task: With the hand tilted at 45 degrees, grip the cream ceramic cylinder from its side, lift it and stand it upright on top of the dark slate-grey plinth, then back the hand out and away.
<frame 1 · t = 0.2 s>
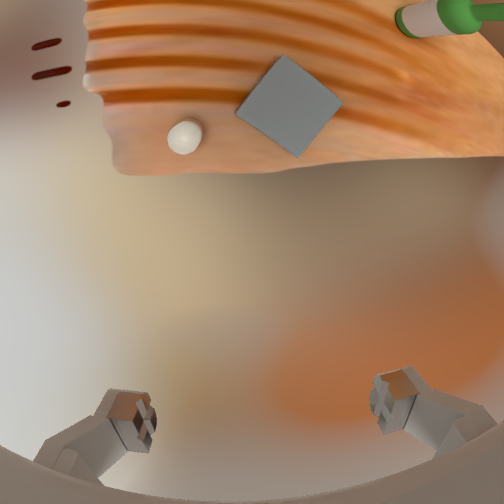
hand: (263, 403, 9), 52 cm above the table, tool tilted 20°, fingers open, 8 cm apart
cylinder: (189, 132, 51), on the table
plinth: (286, 104, 50), on the table
wine bottle: (407, 23, 39), on the table
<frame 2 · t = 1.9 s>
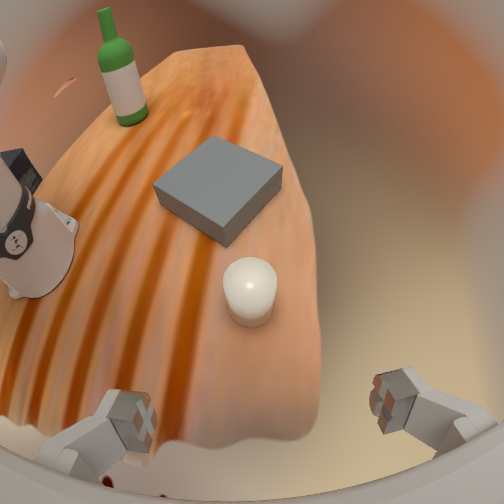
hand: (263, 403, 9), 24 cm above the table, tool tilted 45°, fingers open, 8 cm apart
cylinder: (251, 307, 36), on the table
plinth: (220, 195, 46), on the table
small box: (24, 190, 50), on the table
wine bottle: (134, 118, 60), on the table
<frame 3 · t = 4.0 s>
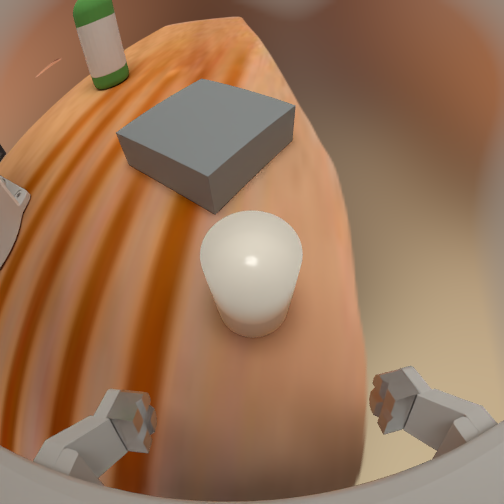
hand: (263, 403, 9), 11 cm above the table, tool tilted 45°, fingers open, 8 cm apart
cylinder: (253, 303, 22), on the table
plinth: (209, 149, 32), on the table
wine bottle: (113, 82, 46), on the table
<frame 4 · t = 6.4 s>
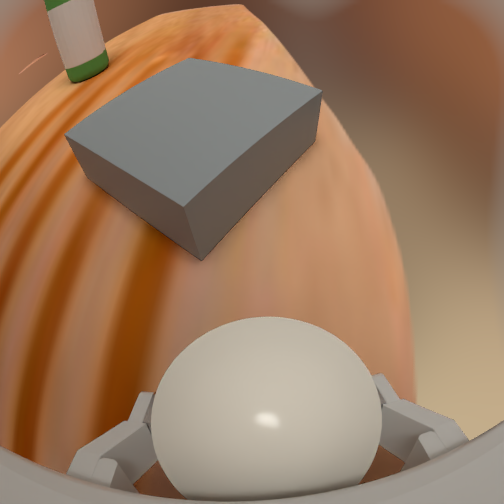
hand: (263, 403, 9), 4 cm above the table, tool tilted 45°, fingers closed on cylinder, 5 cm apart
cylinder: (262, 416, 12), on the table, touching gripper
plinth: (196, 153, 22), on the table
wine bottle: (90, 74, 36), on the table
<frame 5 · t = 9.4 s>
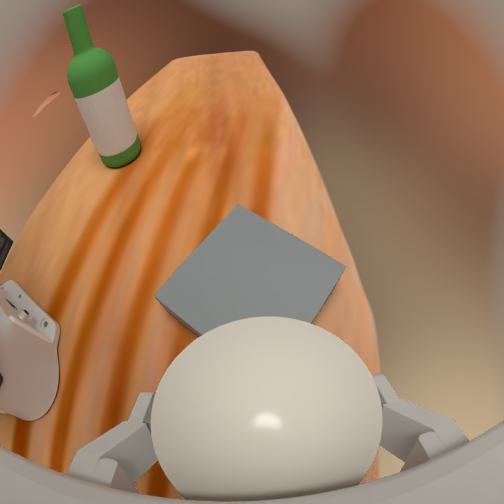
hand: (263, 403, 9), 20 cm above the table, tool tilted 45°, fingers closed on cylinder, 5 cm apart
cylinder: (262, 416, 12), point 16 cm above the table, touching gripper
plinth: (252, 300, 32), on the table
wine bottle: (123, 156, 47), on the table
when the fingers open (11 cm above the table, at t = 12.6 s): cylinder drops 1 cm, resting on plinth.
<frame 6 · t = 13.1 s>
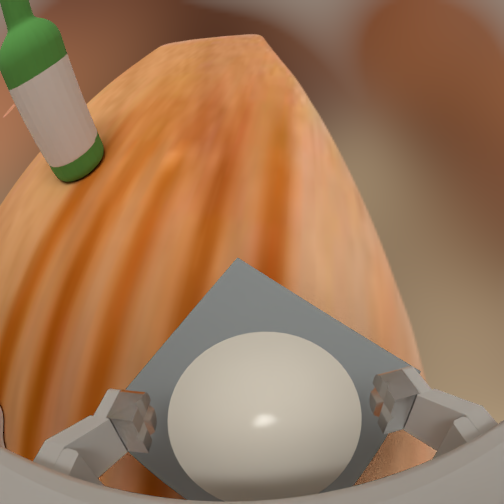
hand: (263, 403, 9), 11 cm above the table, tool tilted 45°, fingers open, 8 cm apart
cylinder: (262, 415, 14), point 5 cm above the table, touching plinth
plinth: (261, 412, 18), on the table
wine bottle: (82, 165, 32), on the table
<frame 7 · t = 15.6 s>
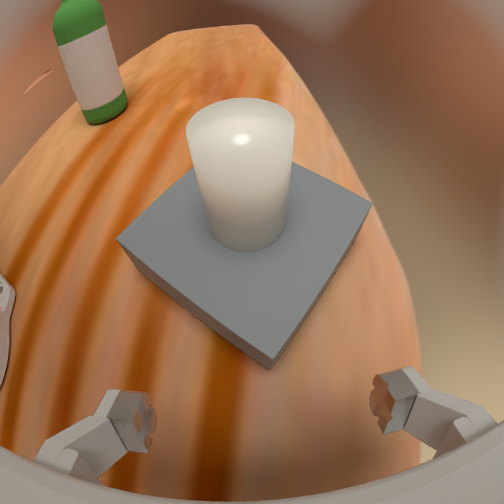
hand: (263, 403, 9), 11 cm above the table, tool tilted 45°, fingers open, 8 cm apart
cylinder: (246, 217, 20), point 5 cm above the table, touching plinth
plinth: (249, 253, 25), on the table
wine bottle: (108, 113, 39), on the table
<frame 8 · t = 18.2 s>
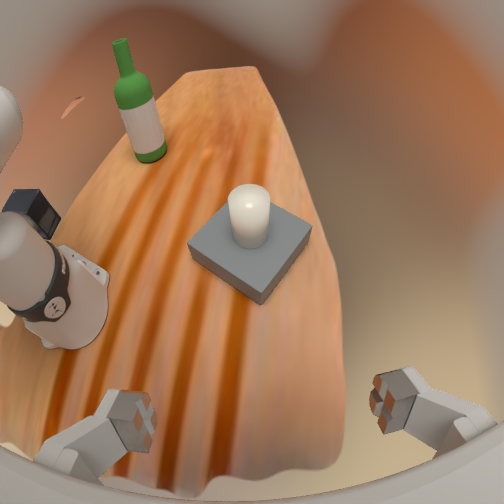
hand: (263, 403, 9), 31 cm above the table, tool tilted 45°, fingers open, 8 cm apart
cylinder: (250, 233, 44), point 5 cm above the table, touching plinth
plinth: (251, 250, 49), on the table
small box: (42, 228, 53), on the table
wine bottle: (152, 154, 63), on the table
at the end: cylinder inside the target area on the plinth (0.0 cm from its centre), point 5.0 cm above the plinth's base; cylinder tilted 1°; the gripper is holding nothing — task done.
